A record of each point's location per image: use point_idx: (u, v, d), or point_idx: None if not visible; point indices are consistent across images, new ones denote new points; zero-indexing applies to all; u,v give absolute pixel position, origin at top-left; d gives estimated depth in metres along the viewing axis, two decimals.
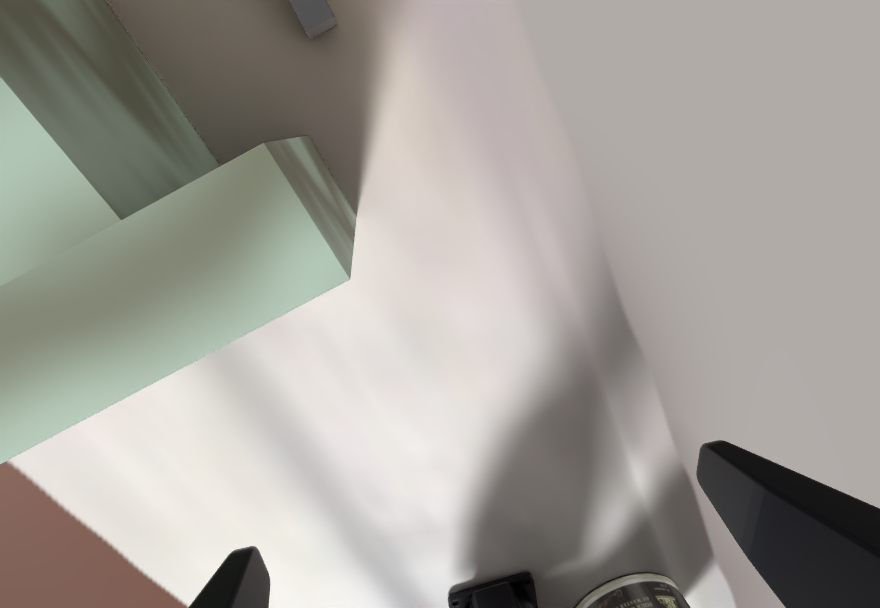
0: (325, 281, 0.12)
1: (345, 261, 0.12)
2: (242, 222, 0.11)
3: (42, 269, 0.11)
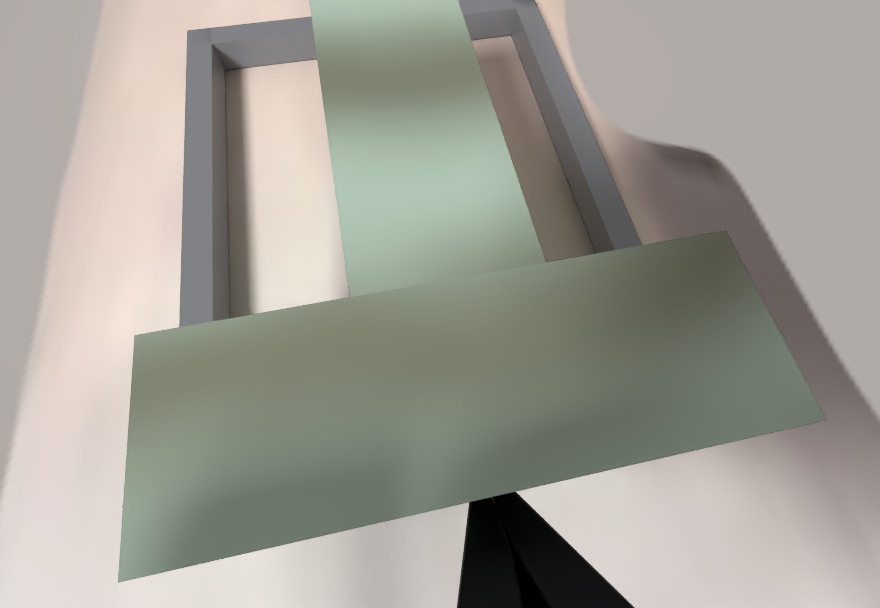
0: (787, 411, 0.08)
1: None
2: (684, 301, 0.08)
3: (432, 287, 0.08)
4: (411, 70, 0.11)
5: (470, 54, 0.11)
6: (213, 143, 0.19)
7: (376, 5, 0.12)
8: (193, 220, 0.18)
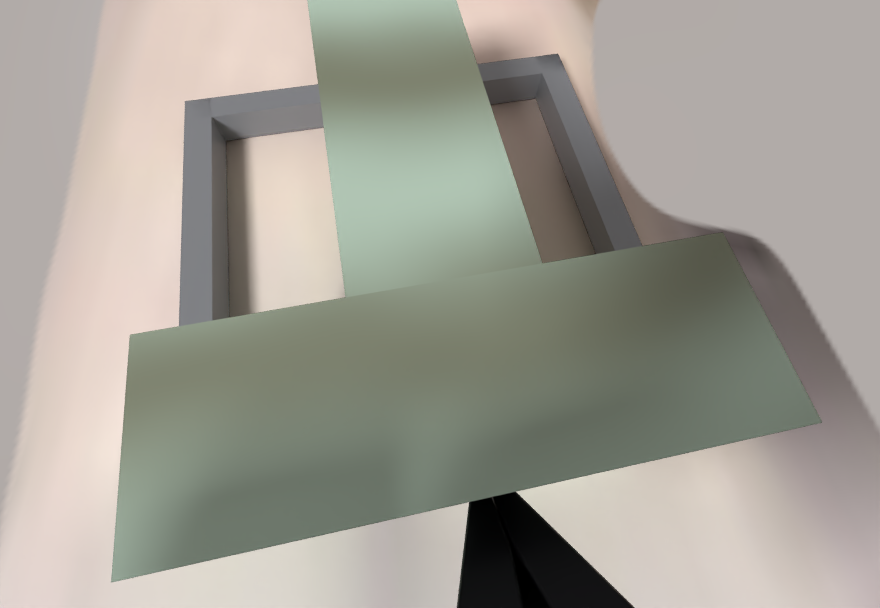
0: (783, 414, 0.08)
1: None
2: (680, 302, 0.08)
3: (428, 288, 0.08)
4: (409, 70, 0.11)
5: (468, 54, 0.11)
6: (213, 236, 0.17)
7: (374, 4, 0.12)
8: None
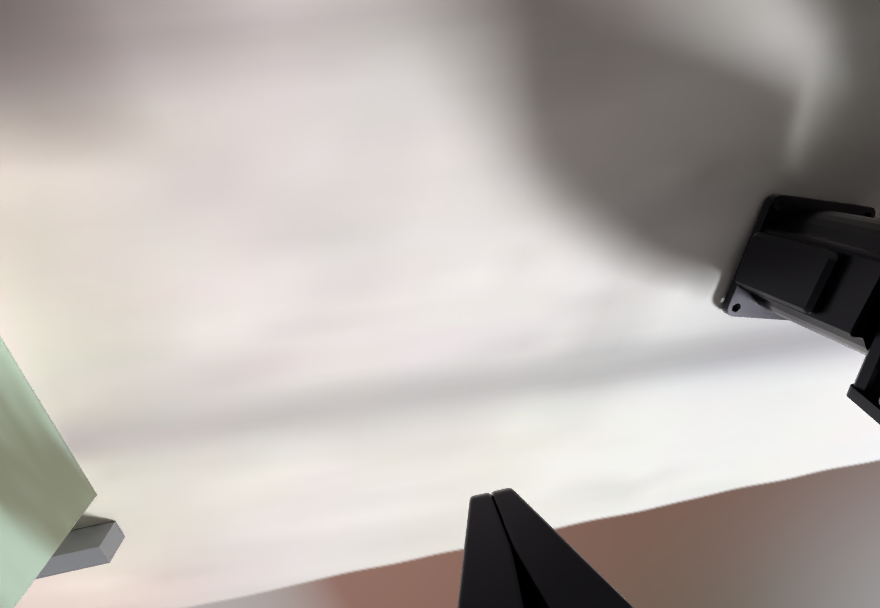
0: None
1: None
2: None
3: None
4: None
5: None
6: None
7: None
8: None
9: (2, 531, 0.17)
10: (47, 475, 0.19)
